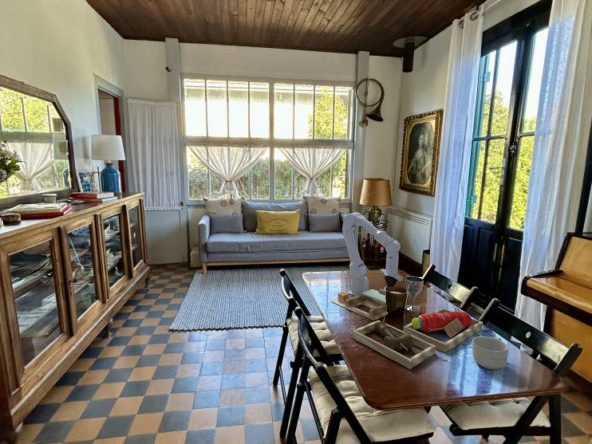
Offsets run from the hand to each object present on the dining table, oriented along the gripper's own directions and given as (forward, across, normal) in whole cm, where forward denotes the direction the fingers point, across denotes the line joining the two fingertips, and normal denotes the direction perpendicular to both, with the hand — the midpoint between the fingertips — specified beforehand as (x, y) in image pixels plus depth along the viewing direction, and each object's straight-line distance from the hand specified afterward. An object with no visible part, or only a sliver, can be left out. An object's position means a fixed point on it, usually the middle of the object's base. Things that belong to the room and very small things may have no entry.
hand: (390, 290), depth 168 cm
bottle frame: (+6, +34, -1) cm, 35 cm away
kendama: (+6, +33, -28) cm, 44 cm away
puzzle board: (+6, +3, -14) cm, 16 cm away
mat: (+6, -9, -22) cm, 25 cm away
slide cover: (+1, +2, -9) cm, 9 cm away
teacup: (+6, +58, -5) cm, 58 cm away
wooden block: (+5, -9, -22) cm, 25 cm away
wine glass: (+6, +11, +4) cm, 13 cm away
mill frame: (+6, +34, -29) cm, 45 cm away
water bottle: (+6, +34, -2) cm, 35 cm away
